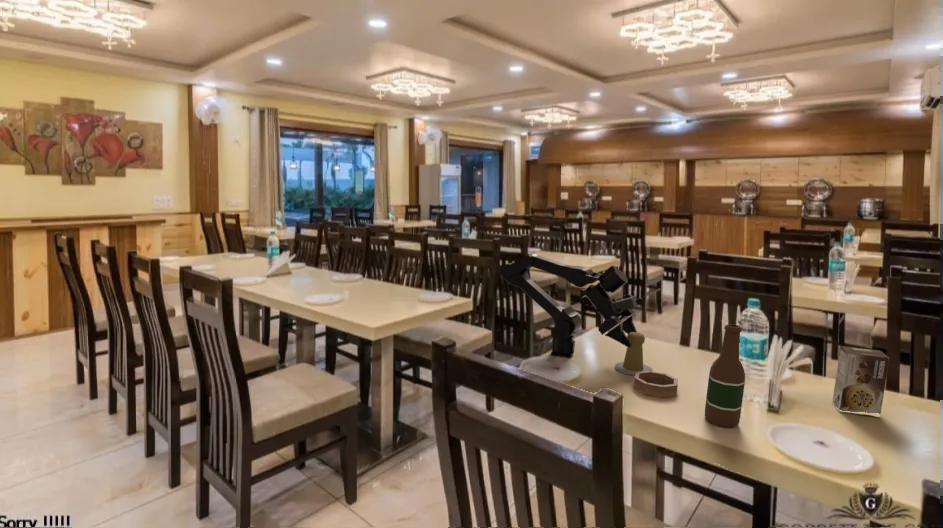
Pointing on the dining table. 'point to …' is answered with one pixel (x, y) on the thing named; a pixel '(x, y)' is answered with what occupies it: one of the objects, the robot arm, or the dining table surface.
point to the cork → (634, 352)
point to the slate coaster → (621, 369)
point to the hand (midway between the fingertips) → (634, 342)
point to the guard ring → (653, 389)
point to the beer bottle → (726, 382)
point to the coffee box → (860, 380)
